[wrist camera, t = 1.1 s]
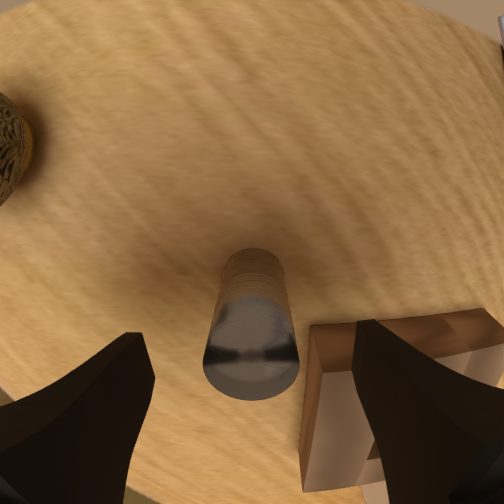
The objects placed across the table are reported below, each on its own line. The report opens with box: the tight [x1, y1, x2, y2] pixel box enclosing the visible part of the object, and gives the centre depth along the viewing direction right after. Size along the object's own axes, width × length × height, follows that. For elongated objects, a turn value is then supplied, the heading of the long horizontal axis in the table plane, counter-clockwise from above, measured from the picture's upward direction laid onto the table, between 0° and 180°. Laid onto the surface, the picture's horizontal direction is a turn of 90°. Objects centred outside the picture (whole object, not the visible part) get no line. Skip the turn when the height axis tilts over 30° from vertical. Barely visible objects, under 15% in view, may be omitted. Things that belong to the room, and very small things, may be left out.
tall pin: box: [203, 248, 300, 401], centre depth 13 cm, size 3×3×7 cm
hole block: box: [298, 308, 504, 493], centre depth 17 cm, size 12×12×4 cm
